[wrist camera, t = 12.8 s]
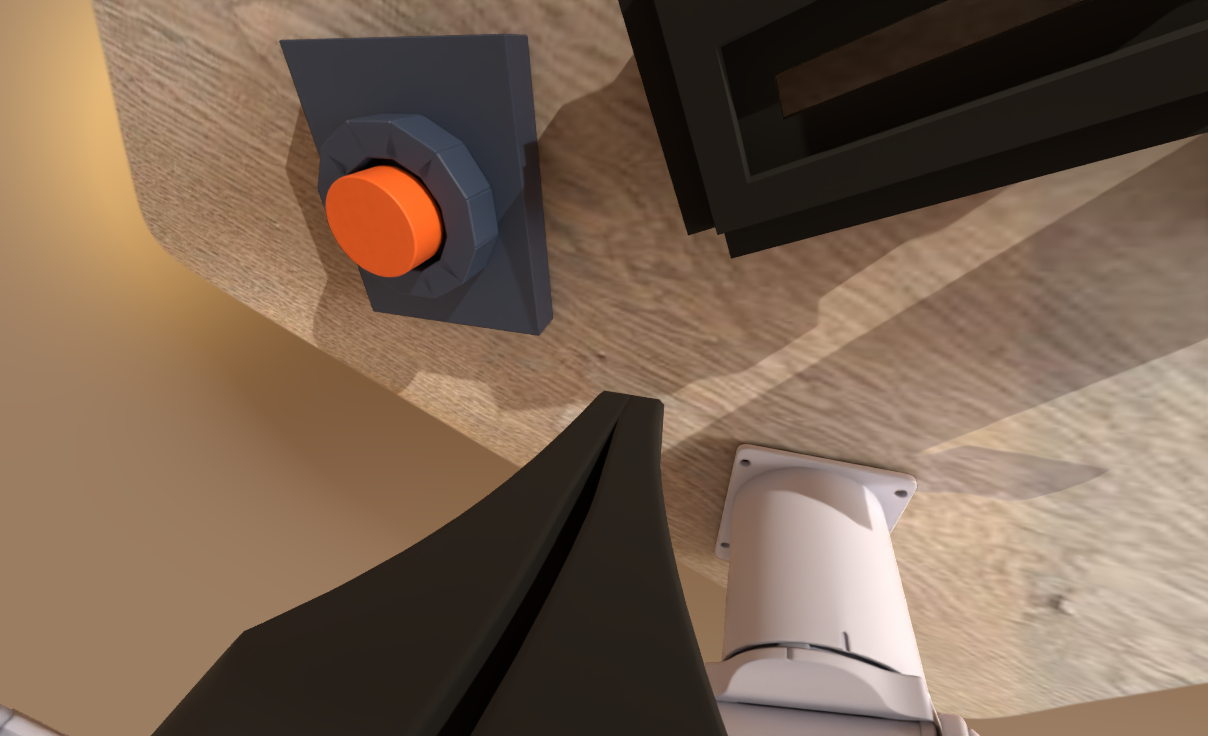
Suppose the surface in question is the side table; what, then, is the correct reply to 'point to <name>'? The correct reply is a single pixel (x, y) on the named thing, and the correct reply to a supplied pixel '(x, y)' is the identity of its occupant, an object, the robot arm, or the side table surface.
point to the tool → (901, 107)
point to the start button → (384, 220)
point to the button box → (441, 163)
